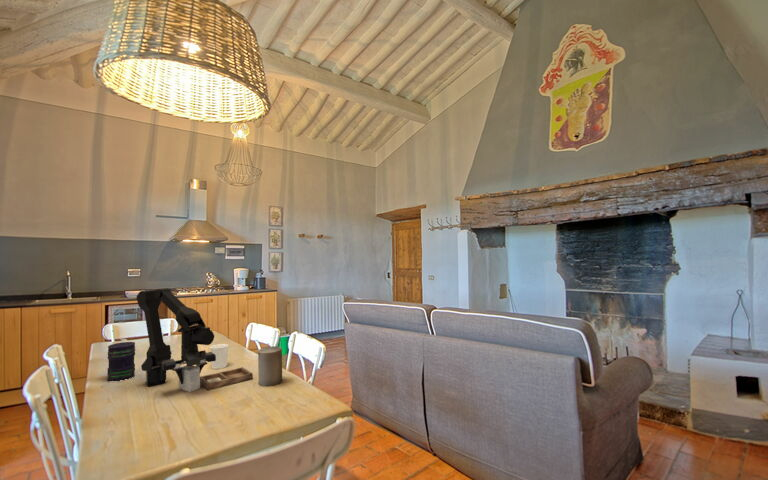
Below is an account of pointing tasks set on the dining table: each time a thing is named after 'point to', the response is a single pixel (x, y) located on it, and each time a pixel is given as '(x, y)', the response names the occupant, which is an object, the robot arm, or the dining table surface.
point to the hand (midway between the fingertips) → (189, 382)
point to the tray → (225, 378)
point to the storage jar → (121, 361)
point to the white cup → (219, 355)
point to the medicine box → (190, 378)
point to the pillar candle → (270, 366)
